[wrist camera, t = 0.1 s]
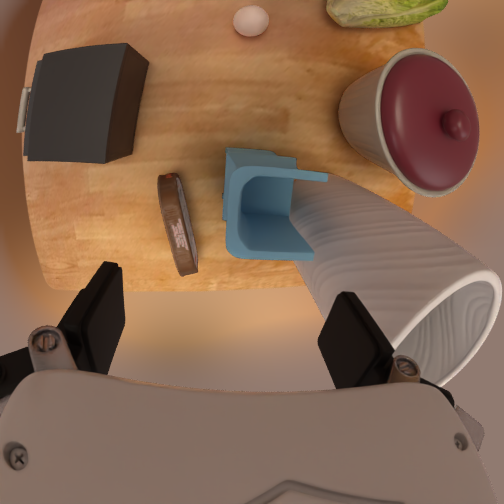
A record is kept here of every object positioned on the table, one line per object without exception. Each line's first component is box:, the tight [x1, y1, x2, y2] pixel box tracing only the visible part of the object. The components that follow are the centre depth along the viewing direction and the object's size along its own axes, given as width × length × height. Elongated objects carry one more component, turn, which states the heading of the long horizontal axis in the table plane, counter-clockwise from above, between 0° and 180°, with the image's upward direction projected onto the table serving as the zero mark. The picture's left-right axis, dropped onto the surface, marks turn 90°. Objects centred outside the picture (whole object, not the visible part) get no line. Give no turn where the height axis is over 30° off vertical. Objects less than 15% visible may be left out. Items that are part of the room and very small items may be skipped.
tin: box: [157, 173, 198, 277], centre depth 37 cm, size 15×3×8 cm, turn 8°
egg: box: [233, 5, 269, 37], centre depth 26 cm, size 5×5×7 cm
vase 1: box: [222, 147, 328, 261], centre depth 30 cm, size 8×8×20 cm
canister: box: [338, 48, 479, 197], centre depth 27 cm, size 18×18×21 cm
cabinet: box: [28, 43, 149, 164], centre depth 27 cm, size 13×15×11 cm
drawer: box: [17, 60, 42, 156], centre depth 26 cm, size 16×13×9 cm
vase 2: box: [289, 173, 502, 387], centre depth 29 cm, size 14×14×32 cm
